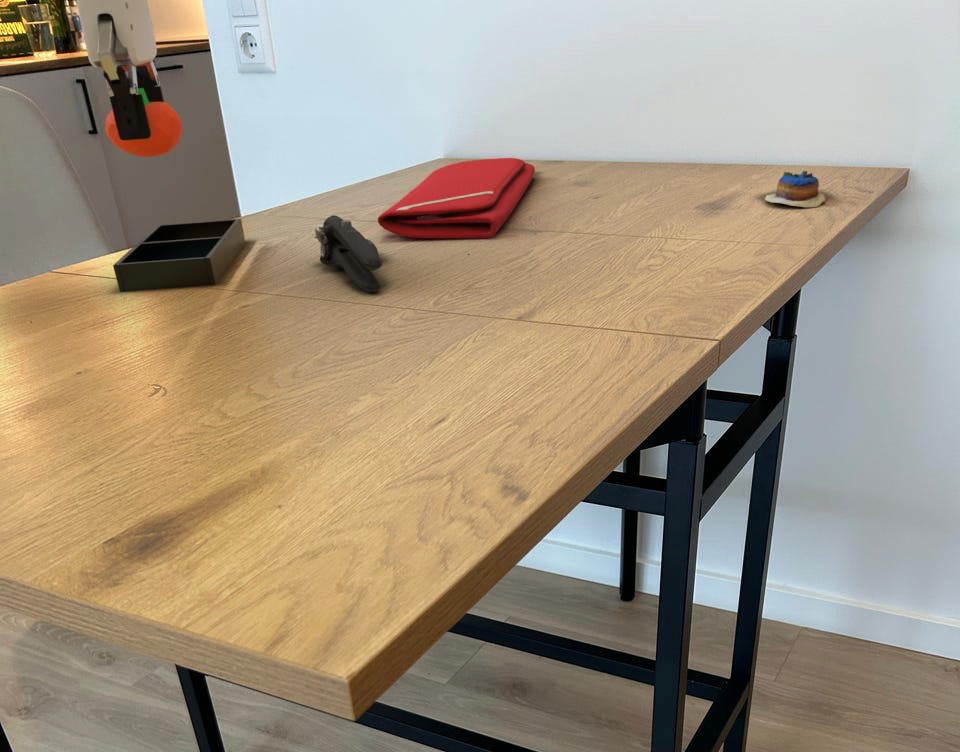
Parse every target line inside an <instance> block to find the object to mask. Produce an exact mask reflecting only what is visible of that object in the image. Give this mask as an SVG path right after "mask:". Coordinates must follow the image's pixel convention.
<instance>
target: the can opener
mask: <svg viewBox="0 0 960 752" xmlns="http://www.w3.org/2000/svg"><path fill="white" fill-rule="evenodd" d="M314 233H315V235H314V239H317V241H318V242H319V243H320V246H319V248H320V256H319V262H320V263H321V264H323V265H325V266H328V267H332V268H335V269H343V270H344V271H345V272H346V274H347V275H348V277H349V278H350V279H351V281H353V283H354V284H355V285H356V286H358V287H359V288H360V289H361V290H363V291H365V292H366V293H376V292H378V291H379V290H381V288H382V287H381V284H380V282H379V280H378V279H377V278H376V276H375V275H374V274H373V273H372V271H376V270H378V269H380V268H381V267H382V266H383V261H382V260H381V257H380V255H379V251H378V248H377V246H376V245H375V243H374V242H373V241H371V240H370V239H368V238H366V237H365V236H364V235H363V234H362V233H361V232H360V231H358V230H357V229H356V228H355V227H353V224H352V221H351V220H349V219H343V218H342V217H340V216H338V215H335V214H333V215H330V216H328V217H327V218H326V219H325V220H324V222H323V225H322V226H318V229H317V228H314Z"/></svg>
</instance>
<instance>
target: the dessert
mask: <svg viewBox="0 0 960 752" xmlns="http://www.w3.org/2000/svg"><path fill="white" fill-rule="evenodd" d="M819 187H820V181H819V178H817V177H816V176H813V172H810V173H808V171H807V170H803V171H802V172H801V173H800V174H797V173H794V174H793V172H790V171H785V172H783V174H782V176H781V177H780V178H779V180H778V183H777V185H776V193H771V194H767V195H766V196H765V198H764V200H765V201H766V202H769V203H775V204H784V205H787V206H791V207H792V206H793V207H801V208H817V207H819V206H821V204H822V203H823V202H825V201H826V197H825V194H823V193H820V192H819Z"/></svg>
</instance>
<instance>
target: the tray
mask: <svg viewBox="0 0 960 752" xmlns="http://www.w3.org/2000/svg"><path fill="white" fill-rule="evenodd" d="M245 244H246V239H245V233H244V228H243V221H242V219H241V218H231V219H218V220H217V219H216V220H204V221H191V222H177V223H165V224H157V225H156V226H154V227H153V228H152V229H151V230H150V231H149V232H148V233H146V235H144V236H143V237H142V238H141V239H140V240H139V241H138V242H137V243H136V244H134V246H133V247H131V248H130V249H129V250H128V251H127V252H125V254H124V255H122V256H121V257H120V258H119V259H118V260H117V261H116V262H115V263H114V264H113V265H112V267H113V271H114V274H115V279H116V282H117V286H118V290H119V293H124V292H138V291H150V290H151V291H152V290H163V289H164V290H165V289H176V288H177V289H178V288H190V287H203V286H216V285H217V283H218V282H219V280H220V279H221V278H222V276H223V275H224V273H225V272H226V270H227V269H228V268H229V266H230V265H231V264H232V262H233V261H234V259H236V257H237V256H238V254H239V252H240V251H241V249H242V248H243V247H244V245H245Z"/></svg>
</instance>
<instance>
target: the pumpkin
mask: <svg viewBox="0 0 960 752" xmlns="http://www.w3.org/2000/svg"><path fill="white" fill-rule="evenodd" d="M138 94H142V96H143V100H144V105H145V109H146V114H147V118H148V122H149V127H150V131H151V136H150V137H149V138H147V139H135V140H121V139H120V138H119V134H118V130H117V126H116V122H115V118H114V114H113V109H112V108H111V110H110V111H109V113H108V114H107V116H106V120H105V133H106V135H107V138H108V139H109V141H110V142H111V143H112V145H113V146H115V147H116V148H118V149H119V150H121V151H123V152H124V153H126V154H129V155H133V156H135V157H142V158H151V157H158V156H162V155H164V154H165V155H166V154H167V153H170V152H171V151H172V150H173V149H174V148H175V147H176V146H177V145H178V144H179V142H180V140H181V136H182V132H183V123H182V120H181V117H180V115H179V114H178V113H177V112H176V111H175V109H174V108H173V107H172V106H171V105H169V104H168V103H167V102H165V101H164V102H149V101H148V99H147V96H146V94H145V91H144V89H143V88H138Z"/></svg>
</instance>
